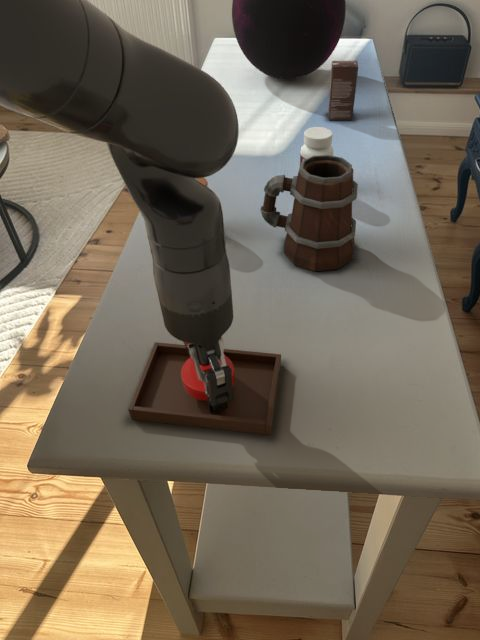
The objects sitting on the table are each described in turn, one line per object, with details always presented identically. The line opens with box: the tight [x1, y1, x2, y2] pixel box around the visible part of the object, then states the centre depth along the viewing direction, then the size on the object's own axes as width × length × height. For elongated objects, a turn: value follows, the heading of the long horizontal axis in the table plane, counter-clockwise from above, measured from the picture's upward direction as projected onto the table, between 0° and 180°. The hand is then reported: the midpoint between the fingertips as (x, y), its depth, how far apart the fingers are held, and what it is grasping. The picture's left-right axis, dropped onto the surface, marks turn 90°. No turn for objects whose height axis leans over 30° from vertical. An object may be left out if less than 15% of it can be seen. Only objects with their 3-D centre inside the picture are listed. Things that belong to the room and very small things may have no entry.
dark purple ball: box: [231, 0, 347, 80], centre depth 128 cm, size 30×30×30 cm
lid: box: [181, 355, 235, 401], centre depth 60 cm, size 6×6×2 cm
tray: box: [127, 341, 282, 436], centre depth 61 cm, size 17×11×2 cm, turn 82°
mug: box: [259, 155, 359, 272], centre depth 77 cm, size 16×12×15 cm
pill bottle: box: [299, 126, 334, 166], centre depth 92 cm, size 6×6×11 cm
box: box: [327, 60, 359, 121], centre depth 115 cm, size 6×4×12 cm
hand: (209, 388), depth 61 cm, fingers closed on lid, 6 cm apart
